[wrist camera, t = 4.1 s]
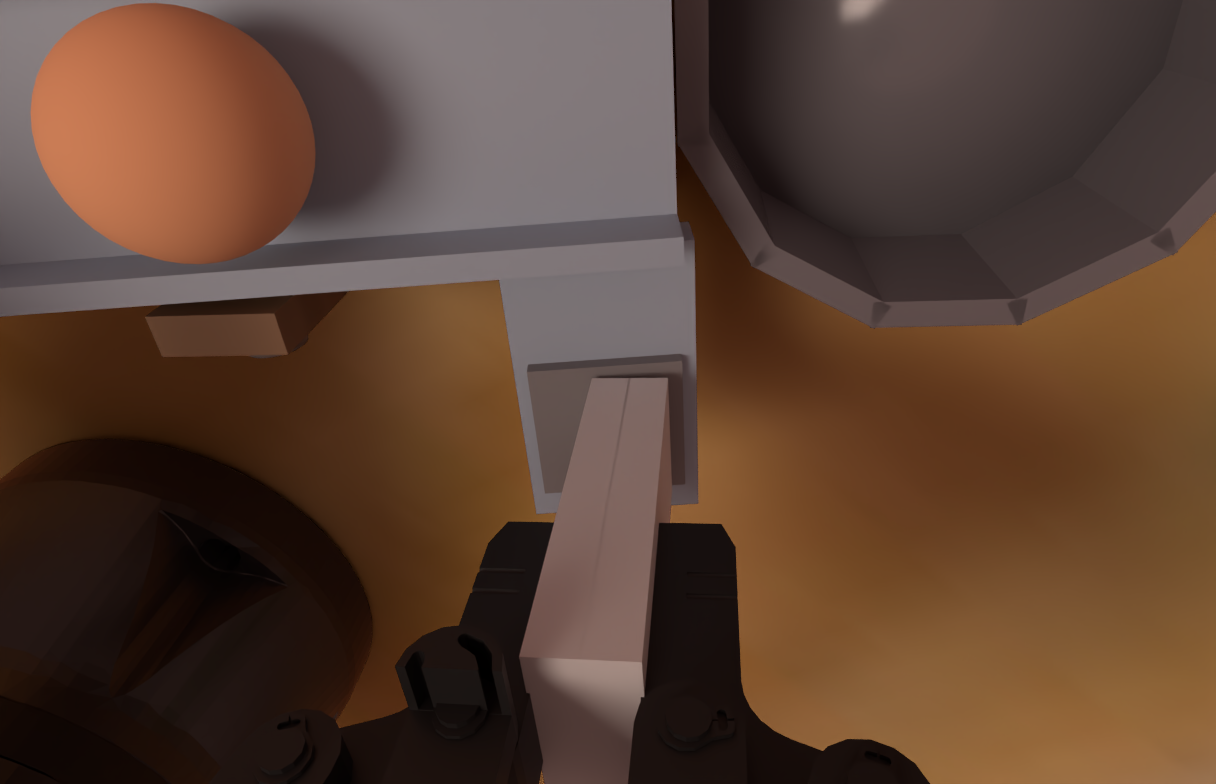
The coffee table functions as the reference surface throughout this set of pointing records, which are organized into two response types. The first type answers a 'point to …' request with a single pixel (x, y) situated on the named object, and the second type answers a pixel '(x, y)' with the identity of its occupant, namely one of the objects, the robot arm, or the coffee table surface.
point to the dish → (951, 145)
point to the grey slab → (429, 189)
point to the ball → (173, 133)
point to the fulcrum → (239, 325)
